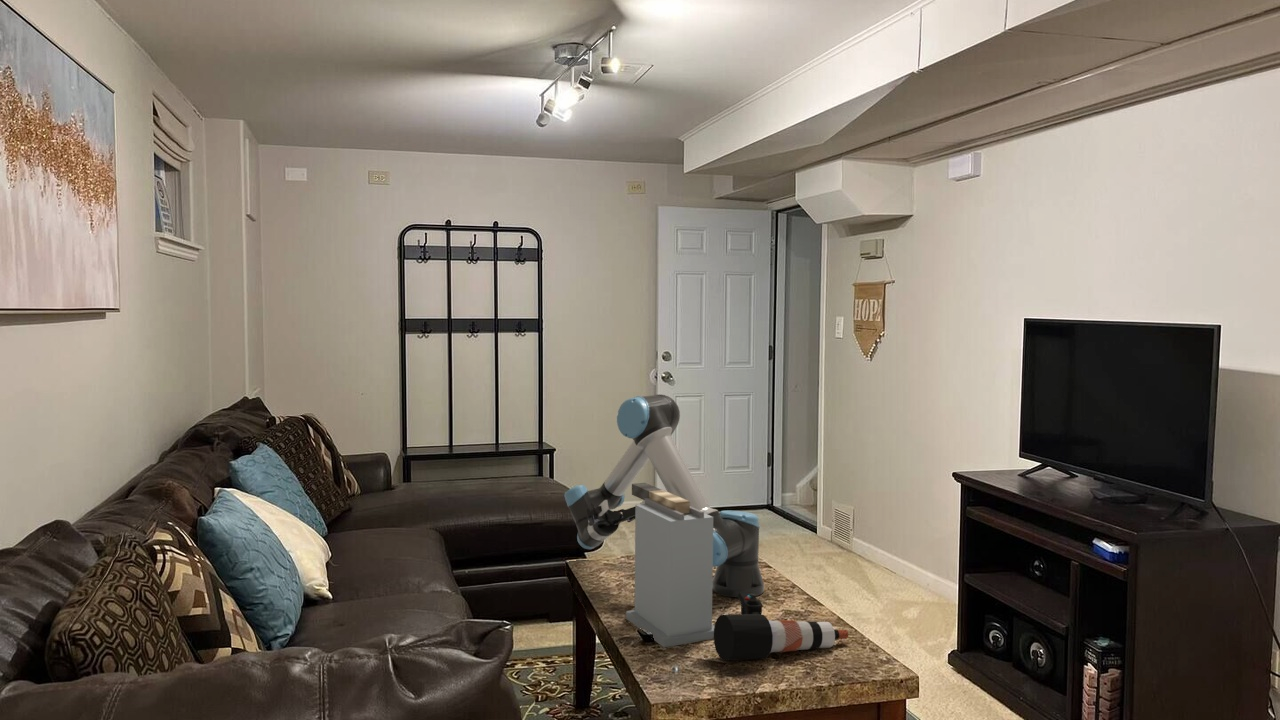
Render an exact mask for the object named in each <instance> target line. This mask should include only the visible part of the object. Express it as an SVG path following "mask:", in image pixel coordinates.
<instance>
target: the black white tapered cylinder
mask: <svg viewBox="0 0 1280 720" xmlns="http://www.w3.org/2000/svg"><path fill="white" fill-rule="evenodd" d="M714 626H715V627H714V639H713V643H714V649H715V651H716V654H717V656H718V657H719V659H721V660H722V661H737V660H738V661H739V660H741V661H742V660H763V659H767V658H769V656H770V654H771V653H779V654H780V653H786V652H797V651H799V650H801V651H804V650H807V651H808V650H811V649H816V650H817V649H828V648H829V649H830V648H832V647H833V646H834V644H835V641H836V640H843V639H844V640H847V639H848V638H849V631H848V630H847V629H840V630H839V629H835V628H834V626H833V625H832V623H830V622H829V621H806V620H805V621H804V620H802V621H801V620H800V621H798V620H797V621H795V620H794V619H793V620H792V619H791V620H790V619H789V620H770V619H768V617H766V616H765V614H741V613H740V614H721V615H718V617H717V618H716V620H715V623H714Z"/></svg>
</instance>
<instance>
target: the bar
mask: <svg viewBox="0 0 1280 720" xmlns="http://www.w3.org/2000/svg"><path fill="white" fill-rule="evenodd" d="M631 496H634V497H636V498H638V499H640V500H642V501H643V500H645V498H649V499H651V500H654V501H656V502H658V503H660V504H663V505H665V506H667V507H669V508H671V509H674V510H676V511H678V512H680V513H683V514H685V513H690V501H688V500H685V499H683V498H681V497H678V496H676V495H673V494H671V493H668V492H667V490H666V491H665V490H663V489H661V488H658V487H656V486H654V485H652V484H649V483H646V482H638V483H637V482H635V483H631Z"/></svg>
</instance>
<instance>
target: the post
mask: <svg viewBox="0 0 1280 720" xmlns="http://www.w3.org/2000/svg"><path fill="white" fill-rule="evenodd" d="M635 506H636V508H635V519H634V522H635V525H634V527H635V528H634V531H635V532H634V535H635V537H634V609H632V610H626V611H625V620H627V621H628V622H629V623H631V624H633V625H634V626H635V627H636V628H638V629H639V630H640V628H641V629H645V630H647V631H649V632H651V633H652V634H653V638H654V642H656V643H657V644H659V645H660V646H661V647H662V648H669V647H675V646H680V645H686V644H691V643H698V642H703V641H708V640H709V641H710V640H714V627H715V624H713V590H712V581H713V578H714V574H713V570H714V567H713V517H712V516H710V515H707V514H705V513H704V512H703V511H700V510H698V509H696V508H693V507H691V506H690V513H685V514H683V513H680V512H678V511H676V510H674V509H671V508H669V507H667V506H665V505H663V504H660V503H658V502H656V501H654V500H651V499H649V498H645V504H640V503H639V504H635Z"/></svg>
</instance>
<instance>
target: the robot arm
mask: <svg viewBox="0 0 1280 720" xmlns="http://www.w3.org/2000/svg"><path fill="white" fill-rule="evenodd" d="M617 410H618V411H617V416H616V423H617V424H616V425H617V428H618V430H619V432H620V433H621V434H622V436H624V437H626V438H629V439H632V442H631V444H630V445H629V446H628V448H627V449H626V451H625V452H624V453H623V455H622V456H621V458H620V459H619V461H618V462H617V463H616V465H615V466H614V467H613V469H612V470H611V472H610V473H609V474H608V476H607V477H606V479H605V480H604V481H603V482H602V484H601V485H600V487H599V488H596V489H595V488H594V489H591V490H588V488H587V487H586V485H585V484H579V485H575V486H573V487H571V488H570V489H567V491H565V492H564V498H565V499H564V500H565V503H566V506H567V507H568V509H569V511H570V515H571V516H572V518H573V521H574V523H575V525H576V528H577V535H576V539H577V542H578V545H580V546H581V547H582V548H583V549H586V550H592V549H595V548H596V547H598V546H600V545H601V544H603V542H604V541H605V540H607V538H609V537H610V536H611V535H613V534H614V533H615V532H616V531H618V529H619V526H620V524H621V523H623V522H626V521H627V523H631V522H633V521H635V508H636V505H635V506H632V507H629V508H627V509H625V508H622V509H621V508H620V509H618V510H614V509H617V508H619V507H621V506H622V505H623V504H624V502H625V498H626V495H625V493H626V492H627V490H628V489H629V488H630V486H632V484H633V482H634V481H635V479H636V478H637V477H638V475H639V474H640V473H641V471H642V470H643V468H644V467H645V466H646V464H647V463H648V462H650V463H651V465H652V467H653V469H654V470H655V473H657V475H658V477H659V479H660V481H661V483H662V485H663V487H664V488H665V490H666V492H668V493H671V494H673V495H676V496H678V497H681V498H683V499H685V500H688V501H690V506H691V507H693V508H696V509H698V510H700V511H703V512H704V513H705V514H707V515H710V516H712V517H713V568H716V569H715V573H714V574H713V580H712V592H715V593H716V594H718V595H721V596H724V597H729V598H738V596H739V593H740V592H752V593H756V594H757V595H758V596H760V595H762V594H763V593H764V591H765V583H764V579H763V576H762V573H761V570H760V566H759V551H760V549H759V547H760V543H759V542H760V541H759V540H760V538H759V537H760V524H759V523H760V520H759V516H757V514H755V513H752V512H748V511H741V510H740V511H739V510H730V509H729V510H728V509H727V510H721V511H720V512H719V510H718V509H716V508H712V507H710V505H709V503H708V501H707V499H706V498H705V496H704V494H703V492H702V490H701V489H700V486H699V485H698V483H697V481H696V480H695V478H694V476H693V474H692V472H691V471H690V469H689V468H688V467H689V466H687V463H686V461H685V460H684V458H683V457H682V455H681V453H680V450H679V449H678V447H677V446H676V444H675V442H674V440H673V438H672V437H671V436H672V435H673V434H674V432H675V430H676V429H677V427H678V425H679V423H680V418H681V412H680V407H679V406H678V404H677V402H676V401H675V400H674V399H673V398H672V397H670V396H669V395H665V394H654V395H646V396H638V395H637V396H634V397H630V398H627V399H626V400H624V401H623V402H622V404H620V406H619V407H618V409H617ZM640 504H645V500H643V499H642V501H641V502H640V503H639V505H640Z"/></svg>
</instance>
